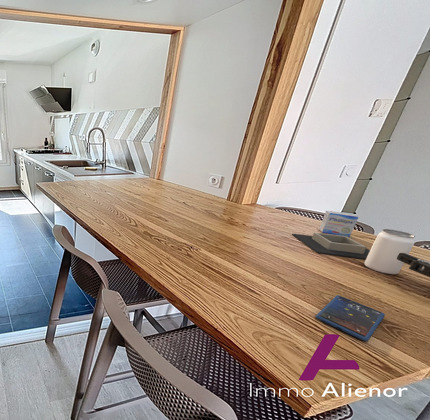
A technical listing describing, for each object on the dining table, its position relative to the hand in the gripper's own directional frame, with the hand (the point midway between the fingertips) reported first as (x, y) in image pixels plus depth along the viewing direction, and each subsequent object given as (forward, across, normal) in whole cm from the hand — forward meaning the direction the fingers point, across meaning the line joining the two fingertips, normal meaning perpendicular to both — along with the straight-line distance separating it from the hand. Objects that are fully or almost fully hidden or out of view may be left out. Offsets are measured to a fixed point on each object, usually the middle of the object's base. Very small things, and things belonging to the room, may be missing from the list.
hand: (416, 256), depth 66 cm
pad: (+20, -1, +8) cm, 21 cm away
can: (+5, 0, +8) cm, 9 cm away
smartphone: (-17, +31, +7) cm, 36 cm away
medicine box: (+33, -13, +8) cm, 36 cm away
